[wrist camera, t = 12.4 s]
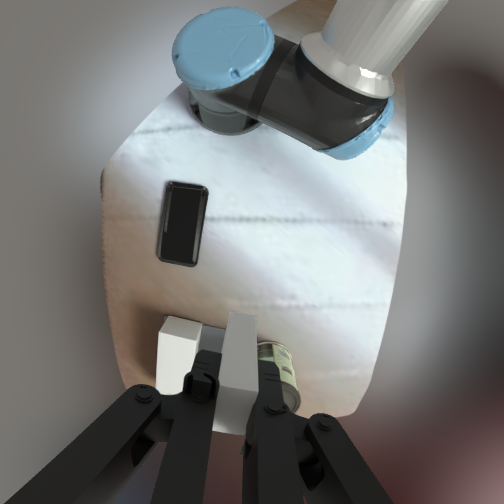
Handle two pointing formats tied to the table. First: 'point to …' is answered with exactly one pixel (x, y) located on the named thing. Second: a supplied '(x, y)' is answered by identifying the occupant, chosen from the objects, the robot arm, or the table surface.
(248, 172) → the table surface
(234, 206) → the table surface
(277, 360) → the coffee can
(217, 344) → the mat
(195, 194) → the phone
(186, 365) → the milk carton
